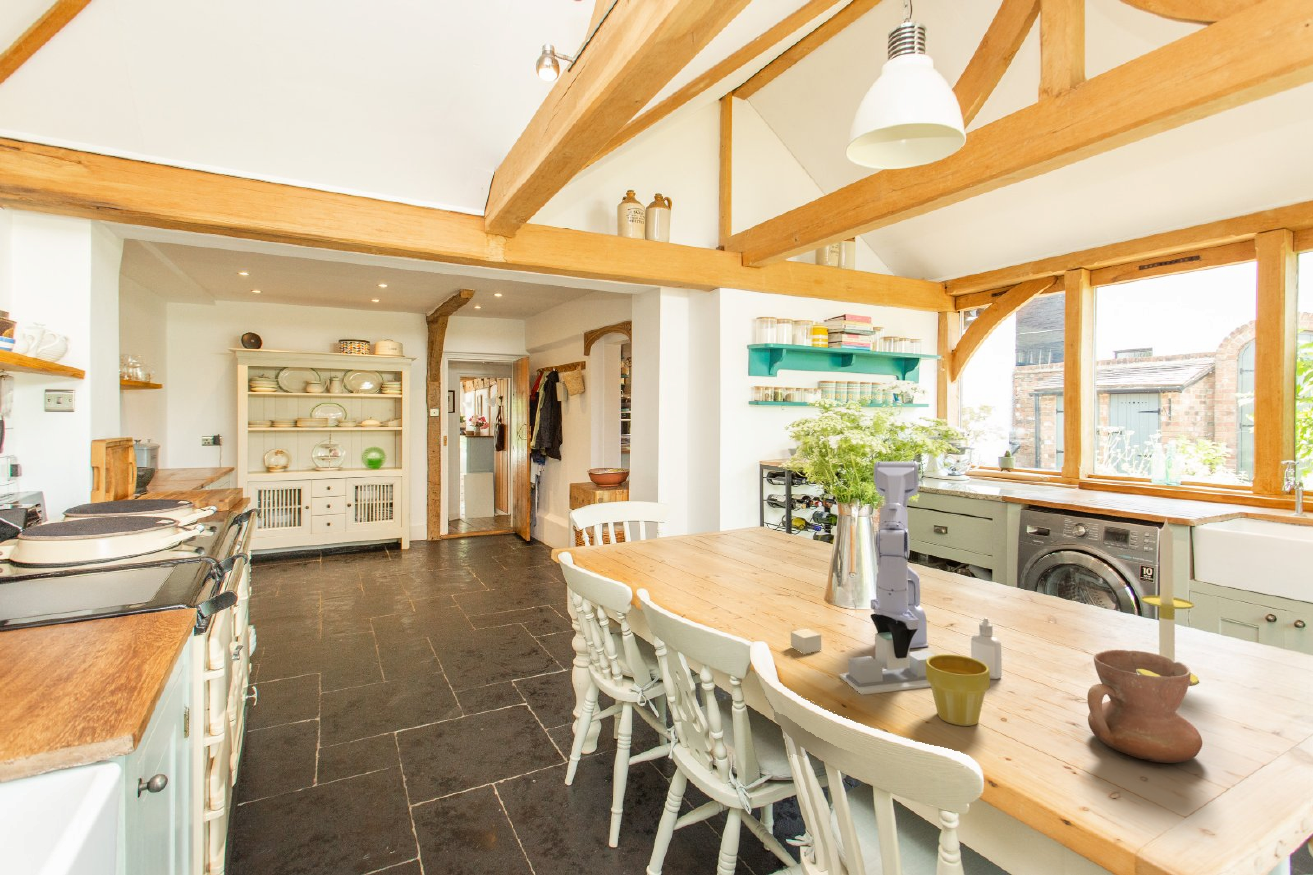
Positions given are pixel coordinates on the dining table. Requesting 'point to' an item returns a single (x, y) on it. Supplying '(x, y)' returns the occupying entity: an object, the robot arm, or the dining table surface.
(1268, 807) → the dining table surface
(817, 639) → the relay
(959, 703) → the plant pot
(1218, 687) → the dining table surface
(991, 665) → the eye dropper bottle
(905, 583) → the robot arm
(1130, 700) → the ceramic jug
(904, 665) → the block
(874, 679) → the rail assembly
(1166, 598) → the candle
